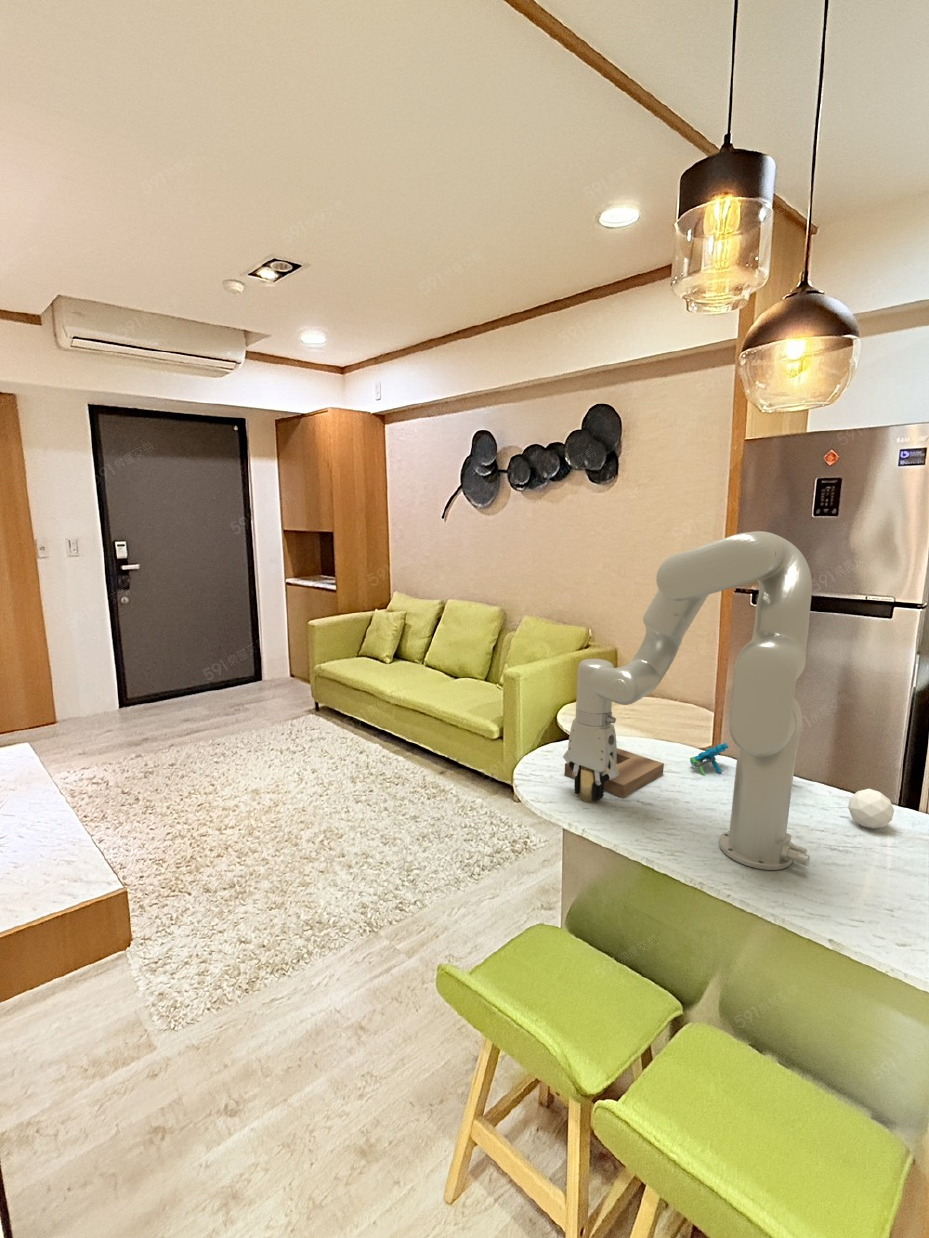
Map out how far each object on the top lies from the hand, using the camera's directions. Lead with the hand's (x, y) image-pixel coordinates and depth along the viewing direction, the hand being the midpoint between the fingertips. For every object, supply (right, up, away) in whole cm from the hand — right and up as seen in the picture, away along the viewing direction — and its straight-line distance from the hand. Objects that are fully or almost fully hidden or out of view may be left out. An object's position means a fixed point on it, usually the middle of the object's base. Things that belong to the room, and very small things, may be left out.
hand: (588, 795), depth 138 cm
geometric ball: (+56, -4, -9) cm, 57 cm away
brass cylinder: (0, -1, 0) cm, 1 cm away
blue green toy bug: (+33, +1, +18) cm, 37 cm away
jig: (+9, +1, +13) cm, 15 cm away
